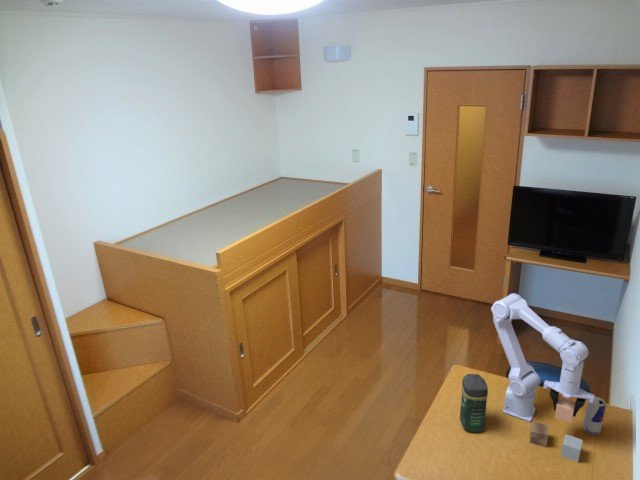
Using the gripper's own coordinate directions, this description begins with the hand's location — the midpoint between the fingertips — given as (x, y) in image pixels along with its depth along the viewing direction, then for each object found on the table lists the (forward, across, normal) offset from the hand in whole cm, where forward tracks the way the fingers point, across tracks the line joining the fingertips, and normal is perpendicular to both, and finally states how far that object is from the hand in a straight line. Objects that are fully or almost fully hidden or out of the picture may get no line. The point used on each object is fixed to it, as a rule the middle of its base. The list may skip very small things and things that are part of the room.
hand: (565, 411), depth 160 cm
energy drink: (+10, +8, +8) cm, 15 cm away
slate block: (+10, +4, -7) cm, 13 cm away
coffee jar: (+10, -27, -10) cm, 31 cm away
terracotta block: (+2, 0, 0) cm, 2 cm away
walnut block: (+10, -6, -6) cm, 13 cm away
